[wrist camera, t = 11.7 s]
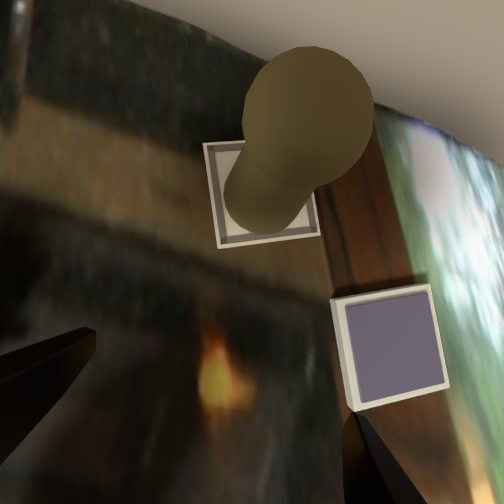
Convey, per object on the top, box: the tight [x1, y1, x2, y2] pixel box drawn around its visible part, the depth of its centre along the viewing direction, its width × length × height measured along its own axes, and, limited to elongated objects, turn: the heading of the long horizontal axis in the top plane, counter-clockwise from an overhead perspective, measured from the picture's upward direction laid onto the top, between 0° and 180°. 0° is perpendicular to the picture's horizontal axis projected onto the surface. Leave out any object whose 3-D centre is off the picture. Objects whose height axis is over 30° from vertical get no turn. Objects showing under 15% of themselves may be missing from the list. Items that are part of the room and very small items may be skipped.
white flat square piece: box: [203, 140, 321, 249], centre depth 20 cm, size 8×8×1 cm
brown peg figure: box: [223, 46, 374, 235], centre depth 14 cm, size 6×6×11 cm
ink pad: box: [330, 283, 450, 412], centre depth 20 cm, size 8×8×1 cm
